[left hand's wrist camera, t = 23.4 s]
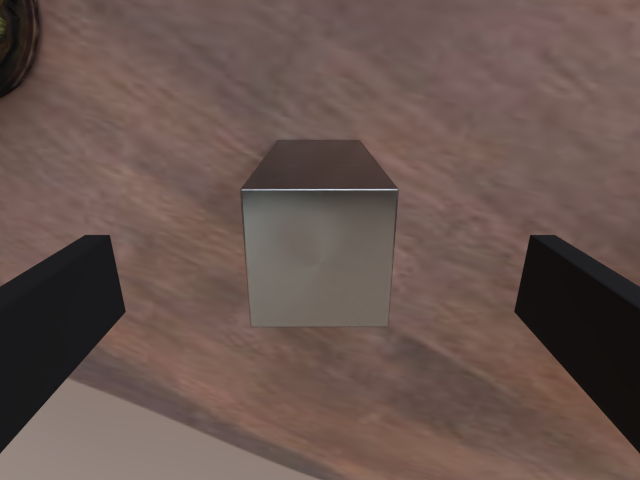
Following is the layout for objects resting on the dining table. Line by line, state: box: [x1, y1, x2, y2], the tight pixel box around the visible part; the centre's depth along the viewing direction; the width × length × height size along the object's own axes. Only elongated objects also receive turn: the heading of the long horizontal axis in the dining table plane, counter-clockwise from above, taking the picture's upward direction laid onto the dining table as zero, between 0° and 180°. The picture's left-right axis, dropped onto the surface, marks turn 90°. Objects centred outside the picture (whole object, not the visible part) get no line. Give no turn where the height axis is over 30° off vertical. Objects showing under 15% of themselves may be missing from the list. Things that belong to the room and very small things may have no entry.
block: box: [240, 140, 399, 327], centre depth 18 cm, size 5×5×12 cm
